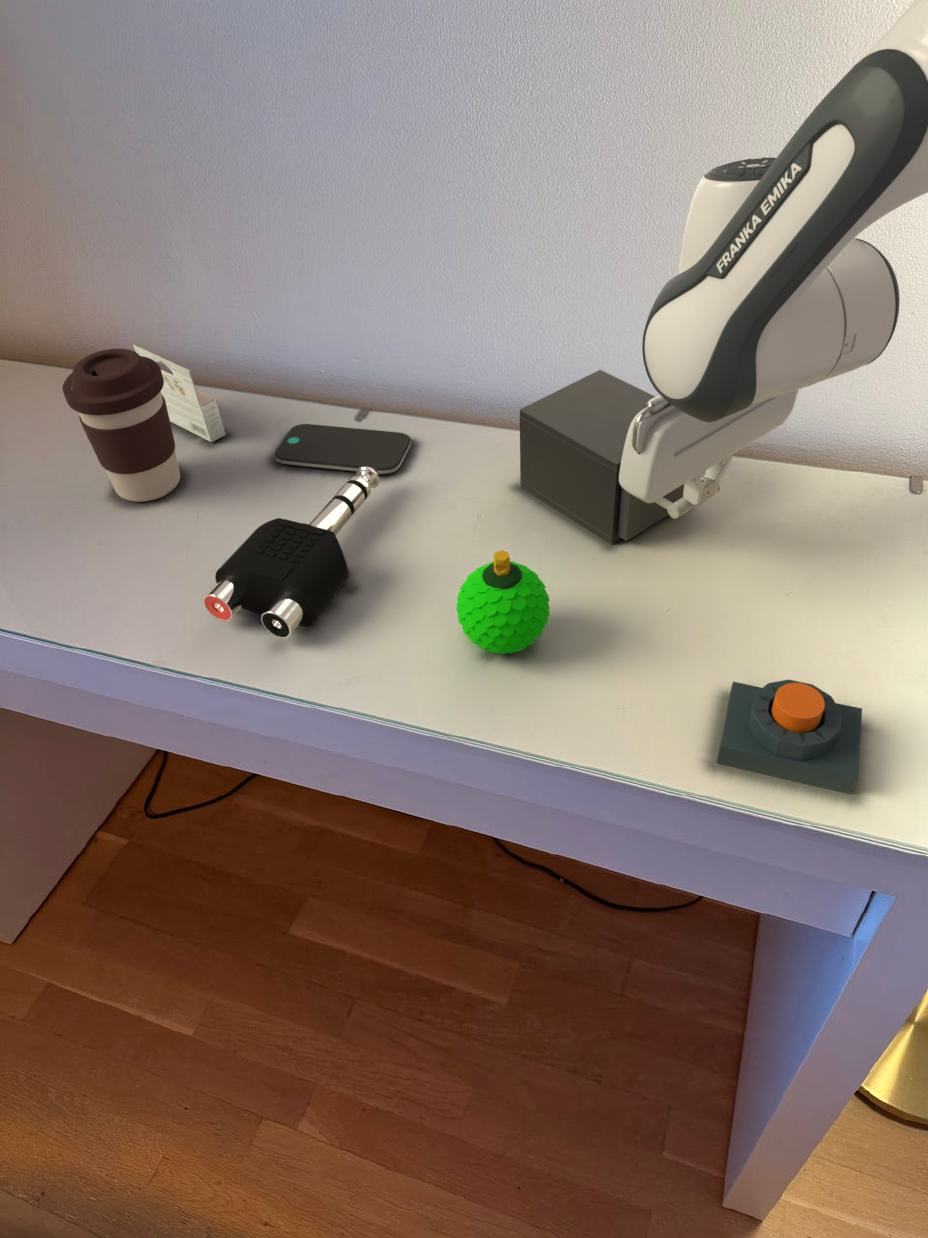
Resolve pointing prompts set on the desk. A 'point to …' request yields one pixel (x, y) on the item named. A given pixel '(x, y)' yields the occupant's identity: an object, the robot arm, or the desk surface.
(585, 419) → the small drawer cabinet
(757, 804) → the desk surface
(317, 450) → the smartphone
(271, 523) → the audio adapter
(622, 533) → the drawer
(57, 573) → the desk surface
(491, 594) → the ornament
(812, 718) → the button
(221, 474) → the desk surface
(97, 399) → the coffee cup
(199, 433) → the ink box
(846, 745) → the control block
